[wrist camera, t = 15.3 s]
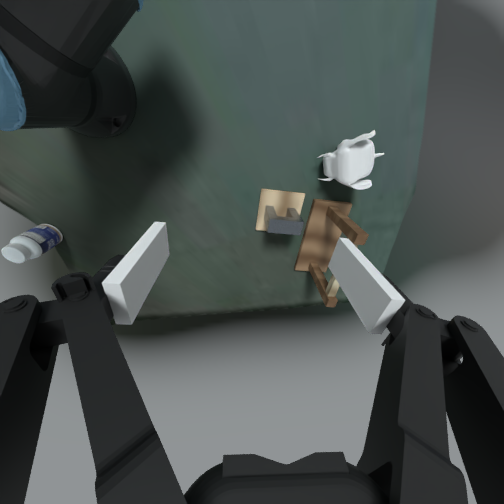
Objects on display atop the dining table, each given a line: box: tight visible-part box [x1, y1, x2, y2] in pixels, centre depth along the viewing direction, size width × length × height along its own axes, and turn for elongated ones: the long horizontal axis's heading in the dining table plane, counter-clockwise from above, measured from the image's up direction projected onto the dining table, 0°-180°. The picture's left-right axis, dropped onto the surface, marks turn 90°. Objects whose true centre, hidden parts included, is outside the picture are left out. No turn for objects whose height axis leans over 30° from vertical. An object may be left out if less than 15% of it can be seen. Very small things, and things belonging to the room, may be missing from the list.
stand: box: [294, 199, 369, 307], centre depth 47 cm, size 20×9×15 cm, turn 173°
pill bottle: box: [1, 224, 63, 263], centre depth 45 cm, size 5×5×10 cm
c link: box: [264, 205, 304, 235], centre depth 45 cm, size 7×3×8 cm, turn 83°
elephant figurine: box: [317, 130, 384, 190], centre depth 40 cm, size 10×12×9 cm
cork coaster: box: [256, 189, 305, 231], centre depth 49 cm, size 10×10×1 cm
